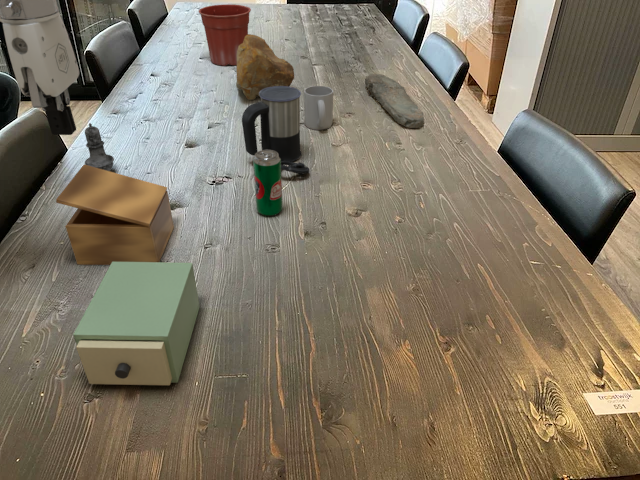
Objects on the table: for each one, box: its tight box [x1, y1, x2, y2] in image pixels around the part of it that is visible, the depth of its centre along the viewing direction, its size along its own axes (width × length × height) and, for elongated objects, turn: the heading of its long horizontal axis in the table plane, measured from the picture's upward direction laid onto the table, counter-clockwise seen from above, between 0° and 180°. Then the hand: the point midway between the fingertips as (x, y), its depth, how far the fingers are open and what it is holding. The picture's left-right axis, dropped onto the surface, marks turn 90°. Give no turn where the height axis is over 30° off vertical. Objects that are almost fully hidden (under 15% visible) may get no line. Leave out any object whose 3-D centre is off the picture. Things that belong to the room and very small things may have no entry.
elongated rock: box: [364, 73, 425, 129], centre depth 149 cm, size 35×5×10 cm
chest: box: [65, 190, 175, 266], centre depth 93 cm, size 14×12×8 cm
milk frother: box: [241, 86, 310, 176], centre depth 117 cm, size 14×16×15 cm
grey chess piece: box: [84, 122, 117, 173], centre depth 113 cm, size 6×6×12 cm
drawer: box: [75, 339, 172, 386], centre depth 72 cm, size 15×10×7 cm
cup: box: [303, 85, 334, 131], centre depth 135 cm, size 7×10×9 cm
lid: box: [55, 163, 168, 227], centre depth 90 cm, size 14×12×1 cm
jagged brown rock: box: [235, 33, 295, 101], centre depth 153 cm, size 23×17×15 cm
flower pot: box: [198, 3, 252, 67], centre depth 176 cm, size 16×16×16 cm
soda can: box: [252, 149, 284, 217], centre depth 102 cm, size 5×5×12 cm
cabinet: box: [72, 261, 201, 384], centre depth 74 cm, size 15×12×9 cm
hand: (64, 132), depth 83 cm, fingers closed
